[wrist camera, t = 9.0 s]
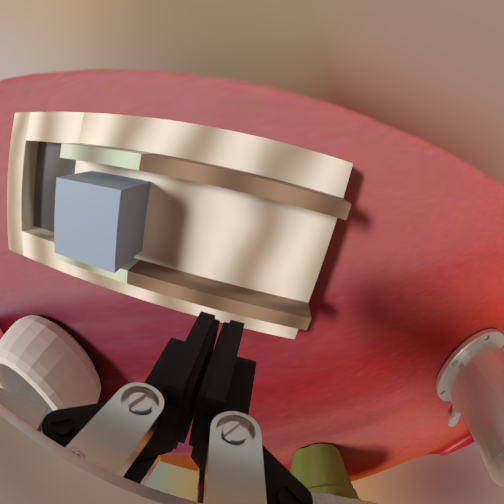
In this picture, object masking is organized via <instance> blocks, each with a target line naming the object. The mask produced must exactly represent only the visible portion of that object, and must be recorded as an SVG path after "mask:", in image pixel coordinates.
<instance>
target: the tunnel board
mask: <svg viewBox="0 0 504 504" xmlns="http://www.w3.org/2000/svg"><path fill="white" fill-rule="evenodd" d="M352 166H353V163H350V162H347V161H344V160H341V159H338V158H335V157H331V156H328V155H325V154H322V153H318V152H315V151H311V150H308V149H304V148H301V147H297V146H293V145H290V144H286V143H282V142H278V141H274V140H270V139H266V138H262V137H258V136H253V135H249V134H244V133H240V132H235V131H230V130H225V129H220V128H215V127H209V126H203V125H198V124H192V123H185V122H179V121H172V120H165V119H157V118H148V117H139V116H129V115H118V114H104V113H86V112H22V113H15V116H14V122H13V129H12V136H11V144H10V153H9V165H8V182H7V225H8V242H9V250H12V251H14V252H16V253H18V254H21V255H23V256H25V257H28V258H30V259H32V260H35V261H37V262H40V263H42V264H44V265H47V266H49V267H52V268H54V269H57V270H59V271H62V272H65V273H67V274H70V275H72V276H75V277H78V278H80V279H83V280H86V281H89V282H91V283H94V284H97V285H100V286H103V287H105V288H108V289H111V290H114V291H117V292H120V293H123V294H126V295H129V296H132V297H135V298H138V299H141V300H145V301H148V302H151V303H154V304H158V305H161V306H164V307H167V308H171V309H174V310H178V311H181V312H185V313H188V314H192V315H195V316H199V314H200V312H201V311H202V312H206V313H209V314H213V315H215V319H216V320H220V322H222V323H224V322H227V323H230V320H234V321H238V322H242V323H245V324H244V328H246V329H250V330H254V331H258V332H263V333H267V334H272V335H276V336H281V337H286V338H290V339H295V336H296V334H297V331H298V329H301V330H306V331H307V328H308V326H309V323H310V321H311V313H310V308H309V300H310V297H311V295H312V292H313V289H314V286H315V283H316V281H317V278H318V275H319V272H320V269H321V266H322V263H323V261H324V258H325V255H326V252H327V249H328V246H329V243H330V240H331V236H332V233H333V230H334V227H335V224H336V221H337V218H340V219H343V220H347V217H348V214H349V211H350V208H351V203H349V202H348V201H347V200H345V199H344V194H345V191H346V187H347V184H348V180H349V177H350V173H351V170H352ZM87 171H98V172H103V173H109V174H114V175H120V176H125V177H130V178H135V179H141V180H146V181H151V185H150V192H149V198H148V205H147V212H146V220H145V228H144V237H143V246H142V251H141V252H140V253H138V254H137V255H136V256H135V257H133V258H132V259H131V260H130V261H129V262H127V263H126V264H125V265H124V266H122V267H121V268H120V269H119V270H118V271H117V272H115V273H113V272H109V271H106V270H103V269H100V268H97V267H94V266H91V265H88V264H85V263H83V262H80V261H77V260H74V259H71V258H68V257H65V256H63V255H60V254H57V253H55V248H54V214H55V192H56V178H57V177H61V176H66V175H71V174H76V173H82V172H87Z"/></svg>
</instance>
